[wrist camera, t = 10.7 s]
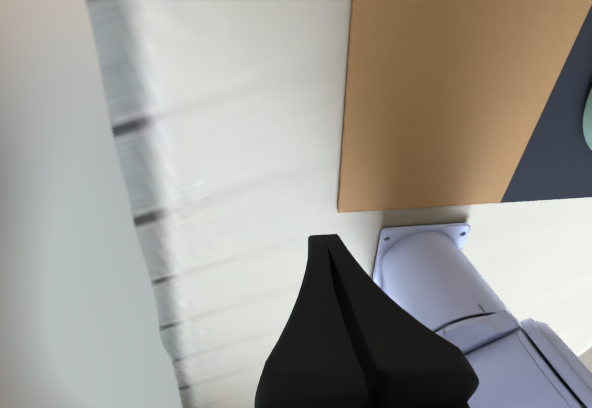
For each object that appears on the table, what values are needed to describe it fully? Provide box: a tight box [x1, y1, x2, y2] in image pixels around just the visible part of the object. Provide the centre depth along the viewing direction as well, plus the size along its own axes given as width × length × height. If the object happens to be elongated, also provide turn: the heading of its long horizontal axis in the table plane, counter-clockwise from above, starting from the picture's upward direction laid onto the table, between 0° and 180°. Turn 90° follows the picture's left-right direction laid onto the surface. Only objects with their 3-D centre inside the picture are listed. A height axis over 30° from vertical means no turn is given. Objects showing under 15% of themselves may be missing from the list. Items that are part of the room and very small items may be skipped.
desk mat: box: [338, 0, 592, 213], centre depth 18 cm, size 20×32×1 cm, turn 92°
